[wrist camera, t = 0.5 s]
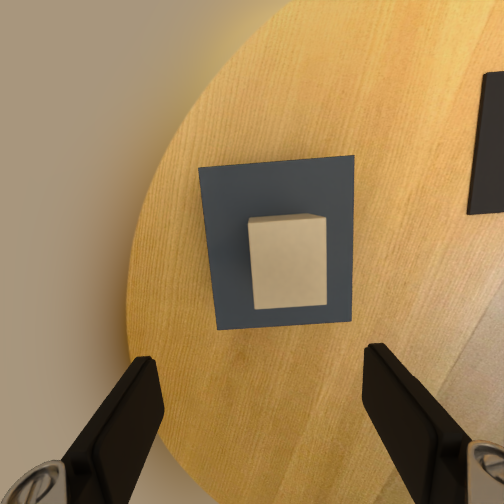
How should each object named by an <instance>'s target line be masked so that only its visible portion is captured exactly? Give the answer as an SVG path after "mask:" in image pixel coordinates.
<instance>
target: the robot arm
mask: <svg viewBox="0 0 504 504" xmlns="http://www.w3.org/2000/svg"><path fill="white" fill-rule="evenodd" d="M362 401H363V405H364V407H365V409H366V411H367V413H368V415H369V417H370V419H371V421H372V423H373V425H374V426H375V428H376V430H377V432H378V434H379V436H380V438H381V440H382V442H383V444H384V446H385V447H386V449H387V451H388V453H389V455H390V457H391V459H392V461H393V463H394V465H395V466H396V468H397V470H398V472H399V474H400V476H401V478H402V480H403V482H404V484H405V485H406V487H407V489H408V491H409V493H410V495H411V497H412V499H413V501H414V502H415V504H504V447H502V446H500V445H498V444H495V443H492V442H490V441H485V440H473V441H472V439H471V438H470V437H469V436H468V435H467V434H466V433H465V432H464V430H463V429H462V428H461V427H460V426H459V425H458V424H457V423H456V422H455V420H454V419H453V418H452V417H451V416H450V415H449V414H448V413H447V411H446V410H445V409H444V408H443V407H442V406H441V405H440V404H439V403H438V401H437V400H436V399H435V398H434V397H433V396H432V395H431V394H430V393H429V391H428V390H427V389H426V388H425V387H424V386H423V385H422V384H421V382H420V381H419V380H418V379H417V378H416V377H415V376H412V374H411V373H410V372H409V371H408V370H407V369H406V368H405V367H404V365H403V364H402V363H401V362H400V361H399V360H398V359H397V357H396V356H395V355H394V354H393V353H392V352H391V351H390V350H389V348H388V347H387V346H386V345H385V344H384V343H372V344H369V345H368V347H366V348H365V349H364V366H363V385H362ZM163 416H164V403H163V398H162V392H161V387H160V382H159V377H158V372H157V366H156V362H155V360H154V359H152V358H151V356H142V357H136V358H135V359H134V360H133V362H132V363H131V365H130V366H129V367H128V369H127V370H126V372H125V373H124V374H123V376H122V377H121V378H120V380H119V381H118V383H117V384H116V385H115V387H114V388H113V389H112V391H111V392H110V394H109V395H108V396H107V397H106V399H105V400H104V401H103V403H102V404H101V405H100V407H99V408H98V410H97V411H96V412H95V414H94V415H93V416H92V418H91V419H90V421H89V422H88V424H87V425H86V426H85V427H84V429H83V430H82V432H81V433H80V434H79V436H78V437H77V438H76V440H75V441H74V443H73V444H72V445H71V447H70V448H69V449H68V451H67V452H66V454H65V455H64V456H63V458H62V459H61V460H51V461H47V462H44V463H42V464H40V465H38V466H36V467H34V468H33V469H31V470H30V471H28V472H27V473H25V474H24V475H23V476H22V477H21V478H20V479H18V480H17V481H16V482H15V483H14V485H13V486H12V487H11V488H10V489H9V490H8V492H7V493H6V495H5V496H4V498H3V500H2V502H1V504H128V502H129V500H130V498H131V495H132V493H133V490H134V488H135V485H136V483H137V481H138V478H139V476H140V473H141V470H142V468H143V466H144V463H145V461H146V458H147V456H148V453H149V451H150V448H151V446H152V443H153V441H154V439H155V436H156V434H157V431H158V429H159V426H160V424H161V421H162V419H163Z"/></svg>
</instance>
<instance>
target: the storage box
mask: <svg viewBox="0 0 504 504" xmlns="http://www.w3.org/2000/svg"><path fill="white" fill-rule="evenodd" d="M198 171H199V180H200V188H201V197H202V205H203V214H204V222H205V230H206V239H207V247H208V256H209V264H210V273H211V281H212V290H213V298H214V306H215V315H216V323H217V330H229V329H245V328H260V327H275V326H290V325H305V324H320V323H335V322H350V321H352V268H353V212H354V155H349V156H337V157H324V158H312V159H299V160H287V161H275V162H262V163H250V164H237V165H225V166H212V167H200V168H198ZM303 213H309V214H313V215H318V216H322V217H326V253H327V304H326V305H314V306H299V307H285V308H270V309H255V308H254V297H253V284H252V272H251V259H250V246H249V234H248V221H249V218H250V217H263V216H277V215H290V214H303Z"/></svg>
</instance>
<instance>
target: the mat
mask: <svg viewBox="0 0 504 504" xmlns="http://www.w3.org/2000/svg"><path fill="white" fill-rule="evenodd" d="M501 212H504V71H499V72H487V73H486V74H484V77H483V85H482V93H481V101H480V110H479V118H478V126H477V135H476V143H475V151H474V159H473V168H472V176H471V184H470V193H469V201H468V209H467V215H474V214H487V213H501Z"/></svg>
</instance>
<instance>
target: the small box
mask: <svg viewBox="0 0 504 504" xmlns="http://www.w3.org/2000/svg"><path fill="white" fill-rule="evenodd" d="M248 234H249V246H250V259H251V272H252V284H253V297H254V308H255V309H270V308H285V307H299V306H314V305H326V304H327V253H326V217H322V216H318V215H313V214H309V213H303V214H290V215H277V216H263V217H250V218H249V221H248Z"/></svg>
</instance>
